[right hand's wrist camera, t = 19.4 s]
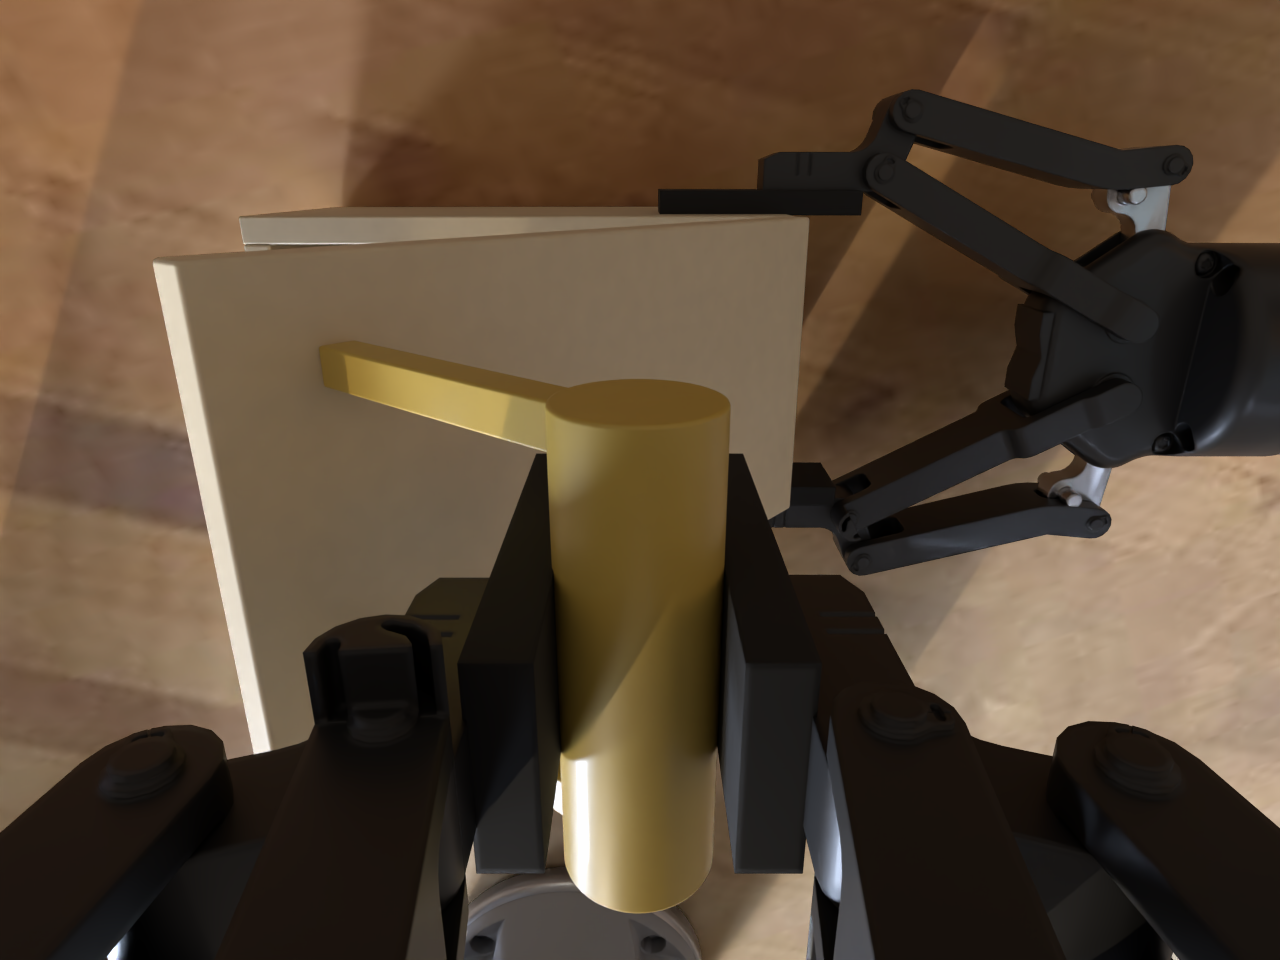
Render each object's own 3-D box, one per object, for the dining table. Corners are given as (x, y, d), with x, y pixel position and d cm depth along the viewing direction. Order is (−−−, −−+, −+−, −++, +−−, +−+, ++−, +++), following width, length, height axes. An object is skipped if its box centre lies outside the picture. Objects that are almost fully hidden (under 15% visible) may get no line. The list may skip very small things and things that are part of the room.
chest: (365, 427, 36) (285, 501, 28) (338, 207, 33) (237, 216, 25) (744, 426, 37) (776, 499, 28) (754, 206, 33) (794, 215, 25)
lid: (257, 777, 15) (586, 1089, 10) (149, 257, 12) (559, 318, 7) (768, 502, 28) (1027, 575, 23) (785, 216, 25) (1093, 226, 19)
